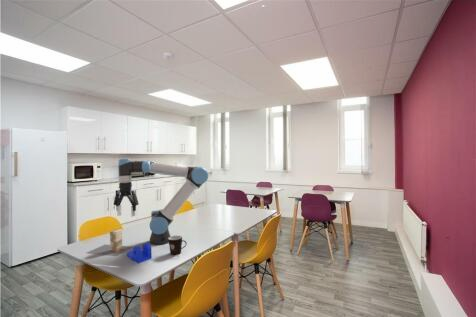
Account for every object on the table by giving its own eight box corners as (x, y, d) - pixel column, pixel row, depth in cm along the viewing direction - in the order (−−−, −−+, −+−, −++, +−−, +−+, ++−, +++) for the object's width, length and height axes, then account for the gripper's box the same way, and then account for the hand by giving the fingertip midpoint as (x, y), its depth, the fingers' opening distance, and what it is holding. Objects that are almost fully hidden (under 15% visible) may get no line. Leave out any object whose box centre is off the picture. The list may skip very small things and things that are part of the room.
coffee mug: (166, 253, 150) (165, 237, 150) (178, 249, 156) (177, 234, 157) (175, 258, 142) (175, 242, 142) (187, 254, 148) (187, 238, 148)
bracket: (151, 258, 143) (151, 244, 143) (138, 263, 137) (137, 248, 137) (137, 251, 155) (137, 238, 155) (124, 256, 149) (124, 241, 149)
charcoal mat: (133, 247, 163) (133, 246, 163) (116, 256, 148) (116, 255, 148) (104, 245, 169) (104, 244, 169) (85, 254, 154) (85, 253, 154)
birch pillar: (122, 249, 159) (121, 229, 159) (116, 251, 154) (116, 232, 154) (116, 248, 160) (115, 229, 160) (110, 251, 155) (109, 231, 155)
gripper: (143, 181, 156) (144, 215, 156) (115, 181, 162) (116, 214, 162) (136, 182, 149) (137, 217, 149) (106, 182, 155) (107, 216, 154)
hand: (126, 215), depth 155 cm, fingers open, 10 cm apart
